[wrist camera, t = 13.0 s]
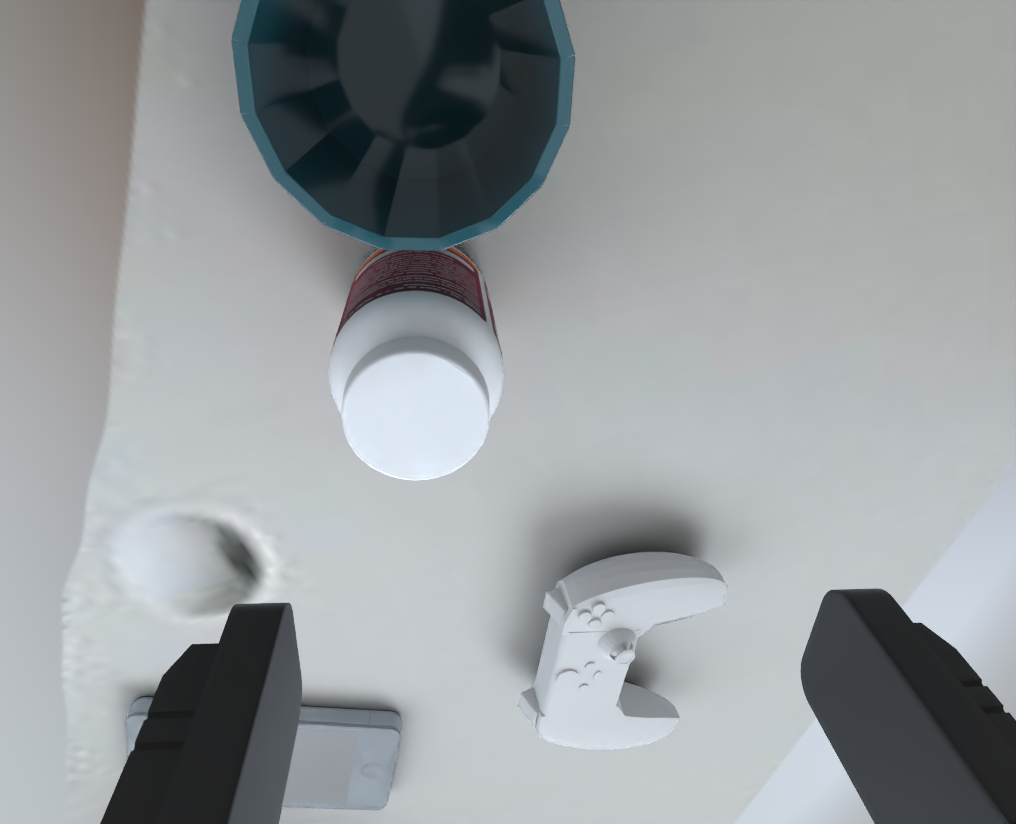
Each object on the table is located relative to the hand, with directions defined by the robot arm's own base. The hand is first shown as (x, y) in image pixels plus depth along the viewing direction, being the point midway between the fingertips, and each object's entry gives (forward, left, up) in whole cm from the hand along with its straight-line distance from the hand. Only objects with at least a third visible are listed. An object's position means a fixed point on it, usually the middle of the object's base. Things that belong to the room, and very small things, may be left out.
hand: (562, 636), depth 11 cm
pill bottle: (+3, -3, -23) cm, 23 cm away
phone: (+32, -13, -23) cm, 42 cm away
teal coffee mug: (-9, -3, -23) cm, 25 cm away
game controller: (+23, +8, -23) cm, 34 cm away
